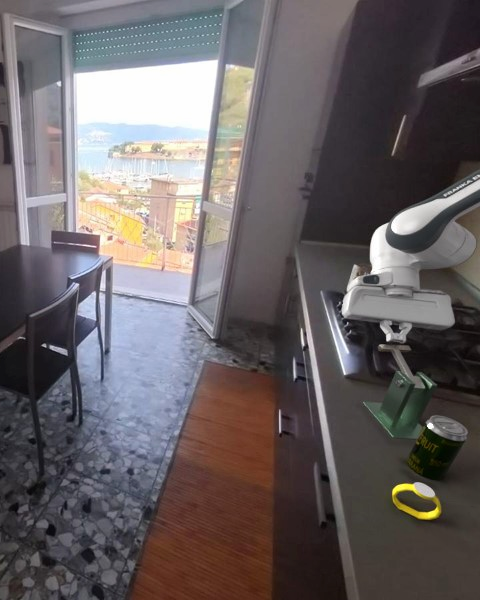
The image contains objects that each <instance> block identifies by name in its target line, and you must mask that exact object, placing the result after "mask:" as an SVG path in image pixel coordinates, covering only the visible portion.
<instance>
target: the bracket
mask: <svg viewBox="0 0 480 600" xmlns="http://www.w3.org/2000/svg"><path fill="white" fill-rule="evenodd" d="M414 376H419V377H420V379H421V381H422V383H423V384H424V386H425V388H426V389H424V390H423V391H421V392H420V393H412V391H413V389H414V387H415V385H416V384H415V383H414V382H413V381H412V380H411V379H410V378H408V377H407V376H406V375H405V374H404V373H403V372H402V371H401V370H396V371H395V373H394V375H393V378H392V380H391V382H390V385H389V387H388V389H387V391H386V393H385V396H384V398H383V400H382V402H373V401H362V403H363V405H364V406H365V407H366V408H367V409H368V410H369V412H370V413H371V414H372V415H373V416H374V418H375V419H376V420H377V421H378V422H379V424H380V425H381V426H382V427H383V428H384V429H385V430H386V432H387V433H388V434H389V435H390V436H391V437H392V439H402V440H403V439H404V440H417V439H418V437H419V435H420V433H421V431H422V429H423V427H424V426H423V425H421V424H420V423H419V422H420V421H421V418H422V417H423V414H425V411H426V409H427V407H428V405H429V403H430V402H431V399H432V397H433V395H434V393H435V391H436V389H437V387H438V384H437V383H435V382H434V381H433V380H432V379H431V378H430V377H429V376H427V375H426V374H425V373H423V372H422V371H416V373H415V375H414Z"/></svg>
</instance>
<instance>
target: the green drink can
mask: <svg viewBox="0 0 480 600" xmlns="http://www.w3.org/2000/svg"><path fill="white" fill-rule="evenodd" d="M422 427H423V429H422V431H421V433H420V435H419V437H418V439H417V440H416V439H415V440H416V441H415V442H414V444H413V446H412V449H411V450H410V452H409V454H408V456H407V458H406V465H407V466H408V467H409V469H410V470H411V471H413V472H414V473H415V474H417V475H418V476H420V477H422V478H424V479H426V480H427V479H428V480H430V481H437V482H438V481H442V480H443V479H444V478H445V476H446V474H447V473H448V472H449V469H450V468H451V467H452V465H453V463H454V461H455V459H456V457H457V456H458V454H459V453H460V452H461V449H462V447H463V446H464V444H465V443H466V441H467V439H468V433H469V432H468V429H467V428H466V427H465V426H464V425H463V424H462V423H460V422H458V421H456V420H454V419H453V418H450V417H447V416H443V415H436V414H435V415H431V416H430V417H429V418H428V419H427V420H426V421H425V423H424V425H423V426H422Z"/></svg>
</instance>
